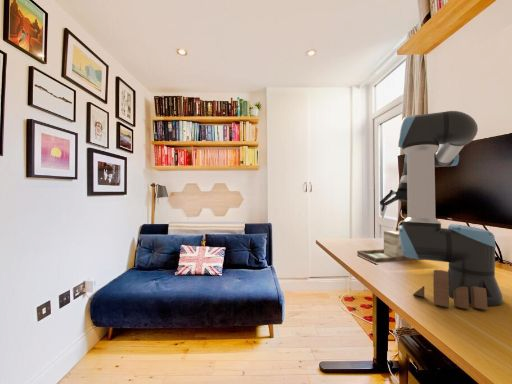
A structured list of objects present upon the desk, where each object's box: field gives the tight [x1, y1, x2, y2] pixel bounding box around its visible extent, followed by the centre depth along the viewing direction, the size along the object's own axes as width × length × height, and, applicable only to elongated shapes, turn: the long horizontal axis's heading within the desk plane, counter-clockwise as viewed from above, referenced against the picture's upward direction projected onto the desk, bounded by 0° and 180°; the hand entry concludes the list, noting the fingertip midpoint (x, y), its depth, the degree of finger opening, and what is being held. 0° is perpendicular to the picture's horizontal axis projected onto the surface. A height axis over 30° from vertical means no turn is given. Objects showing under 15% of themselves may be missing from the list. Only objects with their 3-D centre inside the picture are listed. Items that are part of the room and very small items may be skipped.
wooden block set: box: [412, 269, 489, 311], centre depth 76 cm, size 18×9×10 cm, turn 60°
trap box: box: [356, 248, 416, 266], centre depth 126 cm, size 44×15×3 cm, turn 100°
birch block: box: [383, 230, 404, 257], centre depth 125 cm, size 10×9×12 cm
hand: (396, 220), depth 125 cm, fingers open, 13 cm apart
